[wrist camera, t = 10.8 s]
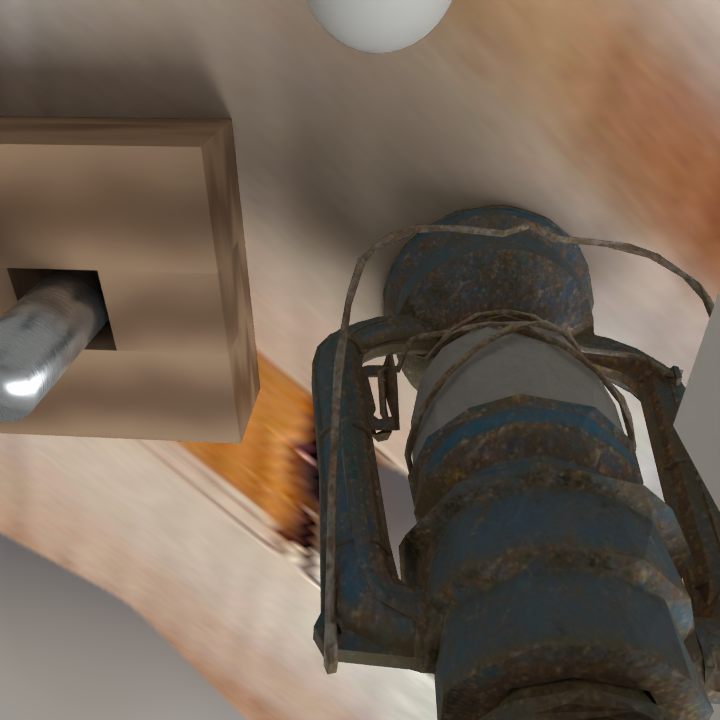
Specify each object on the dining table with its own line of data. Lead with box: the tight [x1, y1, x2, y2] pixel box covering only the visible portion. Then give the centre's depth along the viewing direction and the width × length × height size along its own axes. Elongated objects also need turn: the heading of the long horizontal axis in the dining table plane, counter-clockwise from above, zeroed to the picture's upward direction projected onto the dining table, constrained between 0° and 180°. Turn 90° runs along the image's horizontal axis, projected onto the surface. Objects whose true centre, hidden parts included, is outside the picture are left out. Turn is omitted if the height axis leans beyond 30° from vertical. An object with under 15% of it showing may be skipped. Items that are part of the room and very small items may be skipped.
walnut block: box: [0, 116, 260, 444], centre depth 38 cm, size 18×18×6 cm
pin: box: [0, 269, 109, 422], centre depth 34 cm, size 4×4×12 cm
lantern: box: [312, 206, 720, 720], centre depth 27 cm, size 19×14×30 cm
